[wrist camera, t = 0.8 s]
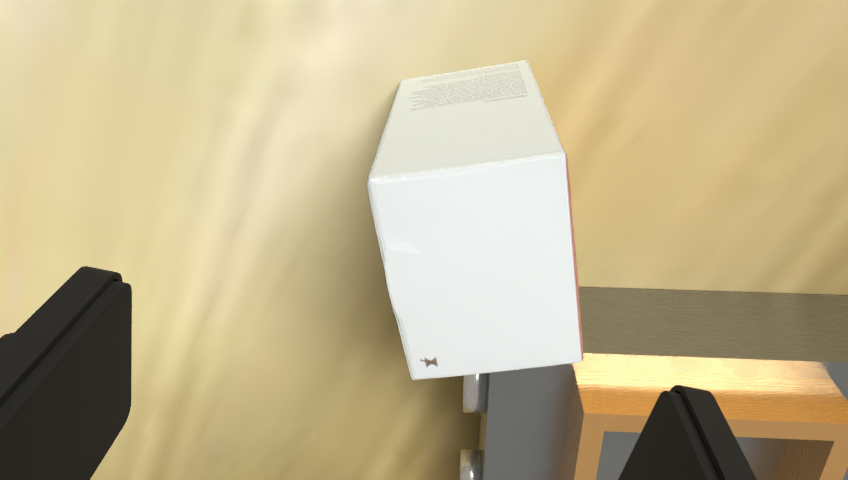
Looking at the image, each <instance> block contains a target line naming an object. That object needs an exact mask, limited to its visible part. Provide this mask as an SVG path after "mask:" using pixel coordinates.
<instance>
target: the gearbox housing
mask: <svg viewBox="0 0 848 480" xmlns="http://www.w3.org/2000/svg"><path fill="white" fill-rule="evenodd" d="M578 289H579V300H580V314H581V327H582V340H583V356H584V358H583V361H582V362H580V363H570V364H561V365H554V366H545V367H536V368H527V369H519V370H509V371H501V372H492V373H482V374H473V375H463V413H481V415H480V433H479V450H464V449H461V453H460V480H618V479H619V477H620V475H621V473H622V471H623V469H624V466H625V464H626V462H627V460H628V458H629V456H630V454H631V452H632V450H633V448H634V446H635V444H636V442H637V440H638V438H639V436H640V434H641V432H642V430H643V428H644V426H645V424H646V422H647V420H648V418H649V416H650V414H651V411H652V409H653V407H654V405H655V403H656V401H657V399H658V397H659V396H660V394H661V393H662V392H663V391H670V390H671V388H672V387H674V386H675V385H682V386H687V387H692V388H697V389H702V390H707V391H709V392H711V393H712V394H713V396H714V397H715V399H716V401H717V403H718V405H719V407H720V409H721V411H722V413H723V415H724V417H725V419H726V421H727V423H728V424H729V426H730V428H731V430H732V432H733V434H734V436H735V438H736V440H737V442H738V444H739V446H740V448H741V450H742V452H743V453H744V455H745V457H746V459H747V461H748V463H749V465H750V467H751V469H752V471H753V473H754V475H755V477H756V479H757V480H848V295H821V294H790V293H758V292H727V291H695V290H664V289H633V288H601V287H578Z"/></svg>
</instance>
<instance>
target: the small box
mask: <svg viewBox="0 0 848 480" xmlns="http://www.w3.org/2000/svg"><path fill="white" fill-rule="evenodd" d="M367 190H368V194H369V200H370V205H371V209H372V214H373V219H374V224H375V229H376V233H377V237H378V242H379V247H380V251H381V256H382V261H383V266H384V270H385V276H386V282H387V288H388V292H389V296H390V300H391V304H392V309H393V312H394V315H395V317H396V321H397V324H398V328H399V332H400V336H401V339H402V344H403V348H404V352H405V356H406V360H407V364H408V368H409V372H410V376H411V378H412V380H420V379H430V378H442V377H453V376H463V375H473V374H482V373H492V372H501V371H509V370H519V369H527V368H536V367H545V366H554V365H561V364H570V363H580V362H582V361H583V358H584V356H583V340H582V327H581V314H580V300H579V289H578V277H577V265H576V253H575V241H574V230H573V220H572V209H571V193H570V182H569V172H568V162H567V154H566V152H565V151H564V149H563V146H562V144H561V142H560V139H559V137H558V134H557V132H556V129H555V127H554V124H553V122H552V120H551V117H550V115H549V112H548V110H547V107H546V105H545V102H544V100H543V98H542V95H541V92H540V90H539V87H538V85H537V83H536V80H535V78H534V75H533V72H532V70H531V67H530V65H529V62H528V61H526V60H523V61H517V62H511V63H505V64H499V65H493V66H486V67H480V68H474V69H468V70H462V71H455V72H449V73H443V74H436V75H430V76H424V77H418V78H411V79H405V80H402V81H400V83H399V87H398V90H397V93H396V96H395V99H394V102H393V105H392V108H391V111H390V114H389V116H388V119H387V122H386V125H385V128H384V131H383V134H382V137H381V140H380V143H379V146H378V149H377V152H376V155H375V158H374V161H373V164H372V167H371V170H370V173H369V176H368V179H367Z"/></svg>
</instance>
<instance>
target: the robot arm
mask: <svg viewBox="0 0 848 480" xmlns="http://www.w3.org/2000/svg"><path fill="white" fill-rule="evenodd" d="M131 324H132V290H131V286H130V284H128V283H123V282H122V277H121V275H120V274H119V273H117V272H112V271H107V270H102V269H97V268H92V267H87V266H85V267H81V268H80V269H79V270H78V271H77V272H76V273H75V274H74V275H73V276H72V277H70V278H69V279H68V280H67V281H66V282H65V283H64V284H63V285H62V286H61V287H60V288H59V289H58V290H57V291H56V292H55V293H54V294H53V295H52V296H51V297H50V298H49V299H48V300H47V301H46V302H45V303H44V304H43V305H42V306H41V307H40V308H39V309H38V310H37V311H36V312H35V313H34V314H33V315H32V316H31V317H30V318H29V319H28V320H27V321H26V322H25V323H24V324H23V325H22V326H21V327H20V328H19V329H18V330H17V331H16V332H15V333H10V334H6V335H4V336H3V337H1V338H0V480H90V479H91V477H92V475H93V474H94V472H95V471H96V469H97V467H98V466H99V464H100V463H101V461H102V459H103V458H104V456H105V455H106V453H107V452H108V450H109V448H110V447H111V445H112V444H113V442H114V440H115V439H116V437H117V436H118V434H119V432H120V431H121V429H122V428H123V426H124V424H125V422H126V420H127V418H128V415H129V412H130V407H131ZM618 480H757V479H756V477H755V475H754V473H753V471H752V469H751V467H750V465H749V463H748V461H747V459H746V457H745V455H744V453H743V452H742V450H741V448H740V446H739V444H738V442H737V440H736V438H735V436H734V434H733V432H732V430H731V428H730V426H729V424H728V423H727V421H726V419H725V417H724V415H723V413H722V411H721V409H720V407H719V405H718V403H717V401H716V399H715V397H714V396H713V394H712V393H711V392H709V391H707V390H702V389H697V388H692V387H687V386H682V385H675V386H674V387H672V388H671V390H670V391H663V392H662V393H661V394H660V396H659V397H658V399H657V401H656V403H655V405H654V407H653V409H652V411H651V414H650V416H649V418H648V420H647V422H646V424H645V426H644V428H643V430H642V432H641V434H640V436H639V438H638V440H637V442H636V444H635V446H634V448H633V450H632V452H631V454H630V456H629V458H628V460H627V462H626V464H625V466H624V469H623V471H622V473H621V475H620V477H619V479H618Z"/></svg>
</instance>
